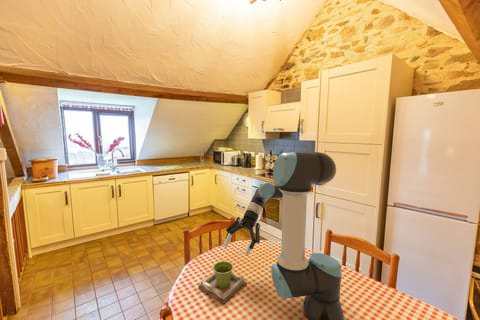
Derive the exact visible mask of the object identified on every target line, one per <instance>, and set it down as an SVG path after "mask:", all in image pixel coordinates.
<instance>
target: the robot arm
mask: <svg viewBox="0 0 480 320" xmlns="http://www.w3.org/2000/svg"><path fill="white" fill-rule="evenodd" d="M274 161H275V162H274V165H273V171H272V176H273V181H274V184H272V183H271V182H267V181H266V182H263V183H262V184H261V185H259V186H258V187H257V188H256V189H255V191H254V193H253V196H252V198H251V200H250V202H249V204H248V206H247V207H246V210H245V212H244V214H243V217H242V218H241V217H239V216H237V218H236V220H235V221H233V222H232V223H231V224H230V225H229V226H227V228H226V229H225V231H226V232H227V234H226V236H225V240H224V242H223V244H222V245H223V246H224V247H225V248H228V245H229V244H230V241H231V239H232V237H233V234H235V233H236V232H238V231H239V230H242V229H244V230H247V231H249V234H250V239H251V240H250V241H249V243H248V245H247V247H246V250H245V251H244V255H245V256H247V257H248V256H249V255H250V253H251V250H253V249H254V247H255V245H256V244H260V243H261V242H260V241H261V239H260V236H261V235H260V233H261V231H260V228H261V224H260V223H259V222H258V219H259V218H260V215H261V213H262V210H263V209H264V206H265V204H266V202H267V201H268V200H278V199H282V203H281V204H282V205H281V207H282V209H281V210H282V212H281V216H282V217H281V252H280V254H279V255H278V256H276V263H274V264H272V265H271V267H270V270H271V273H270V274H271V278H272V283H273V285H274V286H273V287H274V289H275V291H276V293H277V295H278V296H279V297H280V298H281V299H284V300H287V299H291V300H292V299H294V298H301V297H305V298H304V300H303V302H302V311H303V314H304V316H305V317H306V318H307V320H344V310H343V308H342V303H341V300H340V297H341V283H342V276H343V275H342V266H341V263H340V262H339V260H337V259H335V258H334V257H332V256H330V255H328V254H326V253H321V252H314V253H312V254H310V255H309V260H308V258H307V257H306V233H307V232H306V230H307V229H306V228H307V205H308V203H307V201H308V195H309V194H310V193H311V192H312V190H313V189H312V188H313V187H315V186H323V185H326V184H327V183H330V182H331V181H332V180H333V179H334V178H335V176H336V173H337V166H336V163H335V160H334V159H333V158H332V157H331V156H330V155H328V154H327V153H323V152H320V151H314V152H305V151H304V152H302V151H301V152H300V151H299V152H298V151H295V152H294V151H292V152H282V153H281V154H279V155H278V156H277V157H276V159H275V160H274ZM254 227H255V231H254Z"/></svg>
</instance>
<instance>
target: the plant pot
mask: <svg viewBox="0 0 480 320" xmlns="http://www.w3.org/2000/svg"><path fill="white" fill-rule="evenodd" d="M212 270H213V273H214V272H215V276H216V283H217V286H218V287H219V288H226V287H227V286H229V285H230V278H231V272H232V273H233V270H234V264H233V263H231V262H229V261H225V260H223V261H222V260H221V261H218V262H216V263H215V264H214V265H213V267H212Z"/></svg>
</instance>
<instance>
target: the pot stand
mask: <svg viewBox="0 0 480 320" xmlns="http://www.w3.org/2000/svg"><path fill="white" fill-rule="evenodd" d="M247 284H248V282H246V281H245V278H244V277H241V276H240V275H238V274H236V273H234V272H233V271H232V272H231V278H230V285H229V286H227V287H226V288H219V287H218V286H217V283H216V276H215V272H214V271H213V273H211V274H210V275H208V276H207V277H205V278H204V279H202V280H201V281H200V284H199V285H198V289H200V290H201V291H203V292H205V293H206V294H207V295H209V296H211V297H213V298H214V299H215V300H216V301H219V302H220V303H221V304H226V303H228V301H230V299H231V298H233V297H234V296H235V295H236V294H237V293H238V292H240V291H241V290H242V289H243V288H244V287H245V286H246V285H247Z"/></svg>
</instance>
